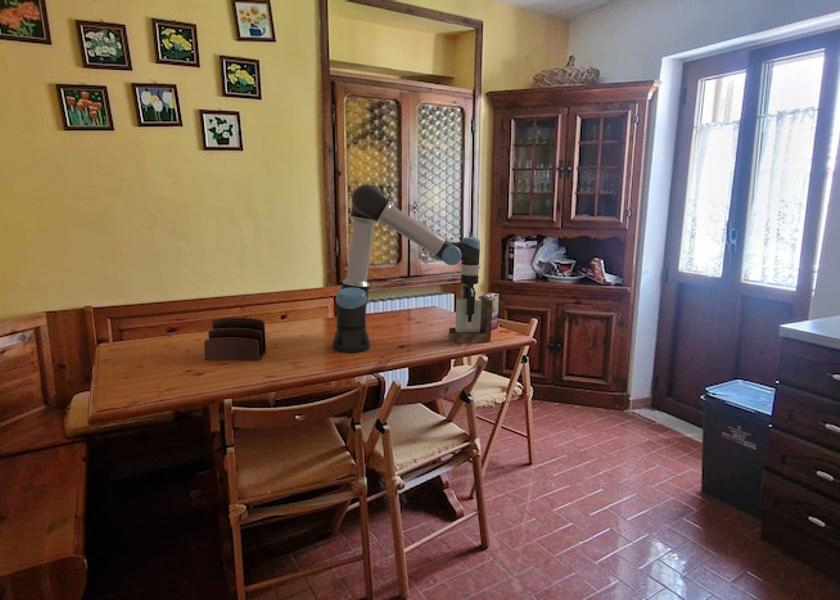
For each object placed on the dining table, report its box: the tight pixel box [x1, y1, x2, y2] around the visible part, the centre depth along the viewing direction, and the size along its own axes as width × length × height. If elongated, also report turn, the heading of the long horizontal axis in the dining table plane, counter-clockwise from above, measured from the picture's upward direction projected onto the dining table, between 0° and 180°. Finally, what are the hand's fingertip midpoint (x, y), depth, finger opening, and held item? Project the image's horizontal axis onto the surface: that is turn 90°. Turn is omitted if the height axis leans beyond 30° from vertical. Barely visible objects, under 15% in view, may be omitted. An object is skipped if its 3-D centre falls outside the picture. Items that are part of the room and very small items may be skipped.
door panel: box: [454, 298, 481, 332], centre depth 219 cm, size 10×4×14 cm, turn 97°
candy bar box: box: [478, 292, 500, 331], centre depth 236 cm, size 11×5×16 cm, turn 143°
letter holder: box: [203, 317, 267, 361], centre depth 190 cm, size 10×20×14 cm, turn 92°
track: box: [448, 295, 493, 343], centre depth 220 cm, size 16×11×18 cm
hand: (467, 327), depth 220 cm, fingers closed on door panel, 4 cm apart
